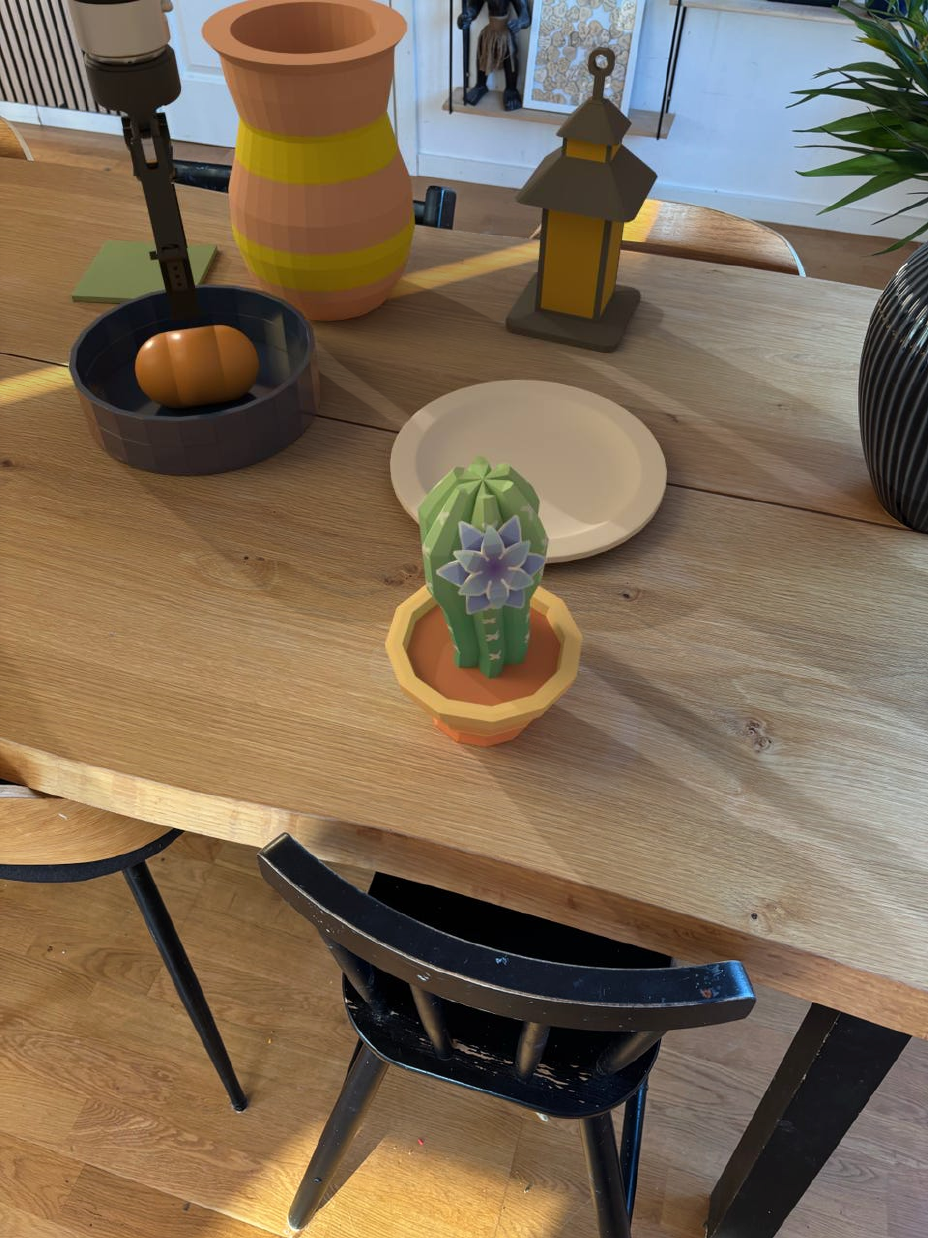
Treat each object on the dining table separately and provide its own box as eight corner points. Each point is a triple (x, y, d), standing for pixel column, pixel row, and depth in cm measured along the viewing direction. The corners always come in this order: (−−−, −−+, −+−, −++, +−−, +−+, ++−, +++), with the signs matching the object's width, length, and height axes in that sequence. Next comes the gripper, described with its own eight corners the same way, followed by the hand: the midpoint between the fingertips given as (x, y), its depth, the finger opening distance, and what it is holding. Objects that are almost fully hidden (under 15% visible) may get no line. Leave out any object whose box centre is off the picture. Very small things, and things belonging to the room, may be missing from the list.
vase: (436, 257, 131) (434, 2, 108) (387, 348, 116) (373, 76, 94) (281, 235, 134) (248, -16, 112) (215, 321, 120) (161, 52, 97)
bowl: (54, 468, 101) (32, 413, 96) (127, 332, 118) (112, 278, 113) (298, 482, 100) (289, 427, 95) (336, 343, 117) (331, 289, 112)
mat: (72, 301, 122) (70, 295, 122) (107, 245, 132) (105, 239, 131) (191, 307, 122) (190, 301, 121) (217, 250, 131) (216, 245, 131)
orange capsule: (147, 428, 105) (129, 364, 99) (142, 386, 110) (124, 322, 104) (268, 409, 107) (258, 346, 101) (258, 368, 112) (247, 305, 106)
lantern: (537, 274, 128) (556, 17, 106) (642, 296, 125) (685, 35, 102) (502, 330, 119) (515, 62, 97) (614, 354, 116) (655, 83, 94)
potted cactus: (354, 736, 80) (326, 505, 61) (441, 609, 89) (439, 375, 70) (529, 810, 75) (556, 586, 57) (600, 669, 84) (644, 437, 66)
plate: (703, 554, 94) (708, 536, 92) (415, 594, 90) (415, 576, 88) (615, 384, 112) (618, 367, 110) (373, 411, 108) (371, 394, 106)
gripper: (187, 100, 75) (233, 342, 91) (161, -4, 91) (204, 218, 107) (85, 110, 74) (151, 355, 89) (77, 3, 89) (134, 227, 105)
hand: (180, 281), depth 98 cm, fingers open, 13 cm apart
